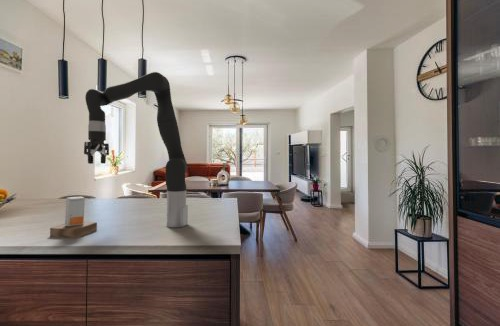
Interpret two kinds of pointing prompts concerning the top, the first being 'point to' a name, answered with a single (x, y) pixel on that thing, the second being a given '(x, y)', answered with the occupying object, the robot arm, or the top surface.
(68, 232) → the walnut block
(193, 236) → the top surface
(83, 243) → the top surface
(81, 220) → the skincare box
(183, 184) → the robot arm
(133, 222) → the top surface
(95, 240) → the top surface
